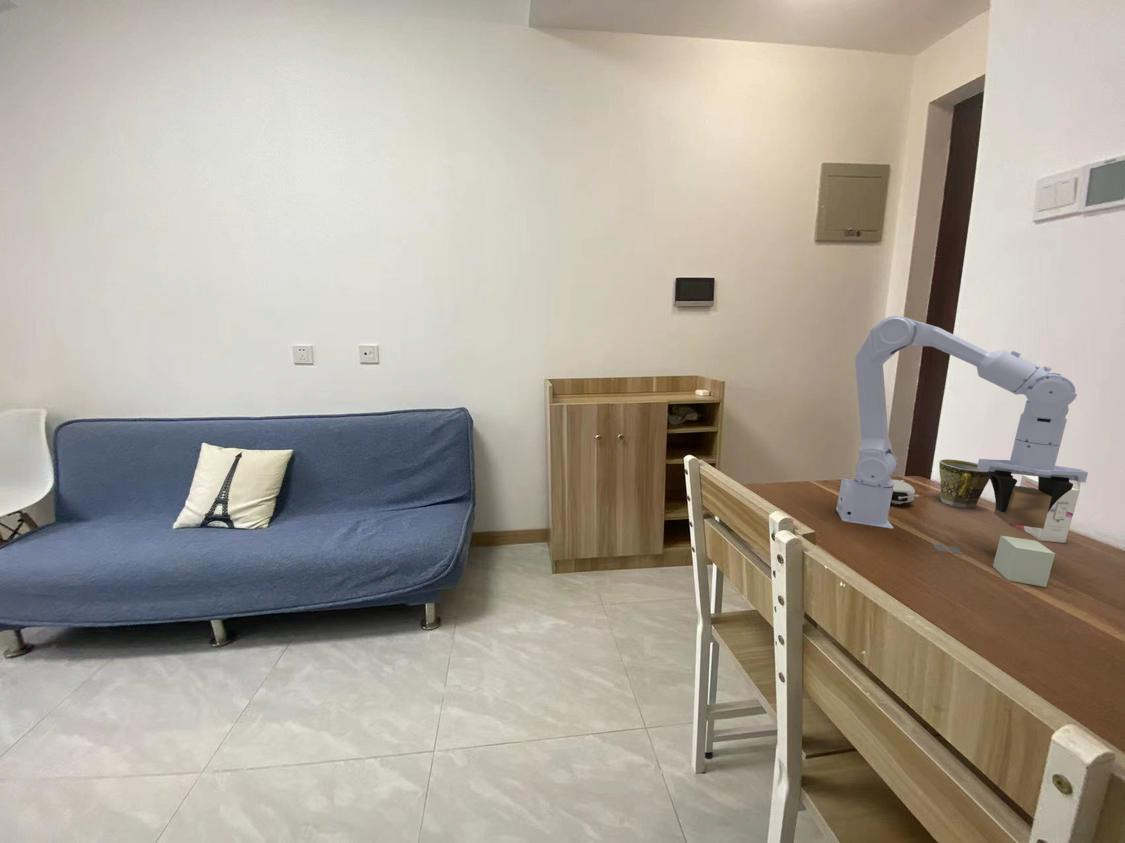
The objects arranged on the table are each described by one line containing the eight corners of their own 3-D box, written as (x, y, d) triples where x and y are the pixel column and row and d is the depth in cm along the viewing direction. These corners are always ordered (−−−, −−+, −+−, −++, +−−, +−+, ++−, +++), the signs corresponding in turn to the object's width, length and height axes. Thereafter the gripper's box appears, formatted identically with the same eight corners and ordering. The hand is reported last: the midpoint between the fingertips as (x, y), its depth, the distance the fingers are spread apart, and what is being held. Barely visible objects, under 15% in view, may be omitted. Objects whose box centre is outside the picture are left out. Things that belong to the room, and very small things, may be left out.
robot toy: (846, 504, 114) (920, 511, 108) (848, 487, 113) (922, 492, 107) (838, 489, 125) (905, 494, 119) (839, 473, 124) (906, 477, 118)
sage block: (1007, 580, 78) (1016, 547, 76) (992, 566, 82) (1000, 535, 81) (1046, 587, 76) (1055, 553, 75) (1028, 572, 81) (1036, 540, 79)
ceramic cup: (930, 493, 121) (938, 456, 119) (980, 502, 116) (989, 464, 113) (933, 508, 111) (942, 468, 109) (988, 519, 105) (998, 477, 103)
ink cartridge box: (1007, 524, 103) (1023, 460, 100) (1033, 526, 102) (1050, 463, 99) (1038, 541, 95) (1056, 472, 92) (1066, 544, 94) (1086, 475, 91)
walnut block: (1007, 523, 84) (1015, 492, 82) (994, 513, 88) (1001, 484, 87) (1043, 528, 82) (1051, 496, 81) (1027, 518, 86) (1035, 488, 85)
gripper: (997, 441, 81) (980, 513, 84) (1108, 451, 76) (1086, 528, 79) (978, 433, 87) (963, 500, 90) (1079, 442, 82) (1060, 513, 85)
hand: (1019, 512), depth 85 cm, fingers closed on walnut block, 5 cm apart
